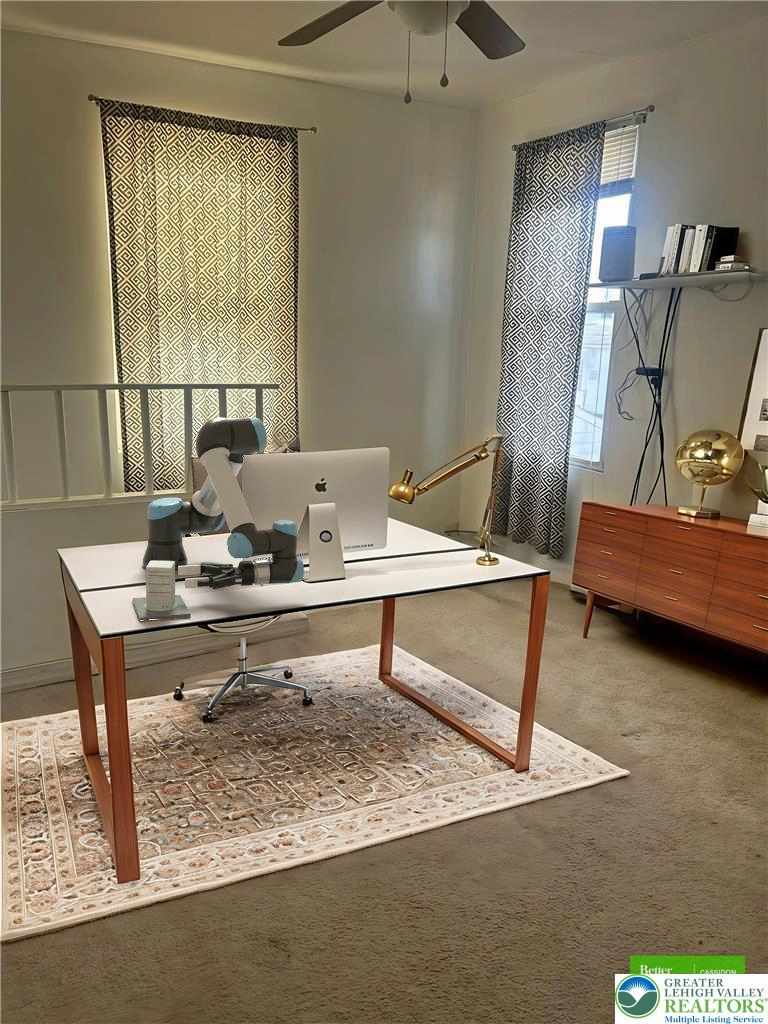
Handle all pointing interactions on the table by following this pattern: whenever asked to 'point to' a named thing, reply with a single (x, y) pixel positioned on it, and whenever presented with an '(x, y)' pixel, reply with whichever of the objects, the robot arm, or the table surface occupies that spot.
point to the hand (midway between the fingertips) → (181, 576)
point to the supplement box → (160, 585)
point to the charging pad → (161, 610)
